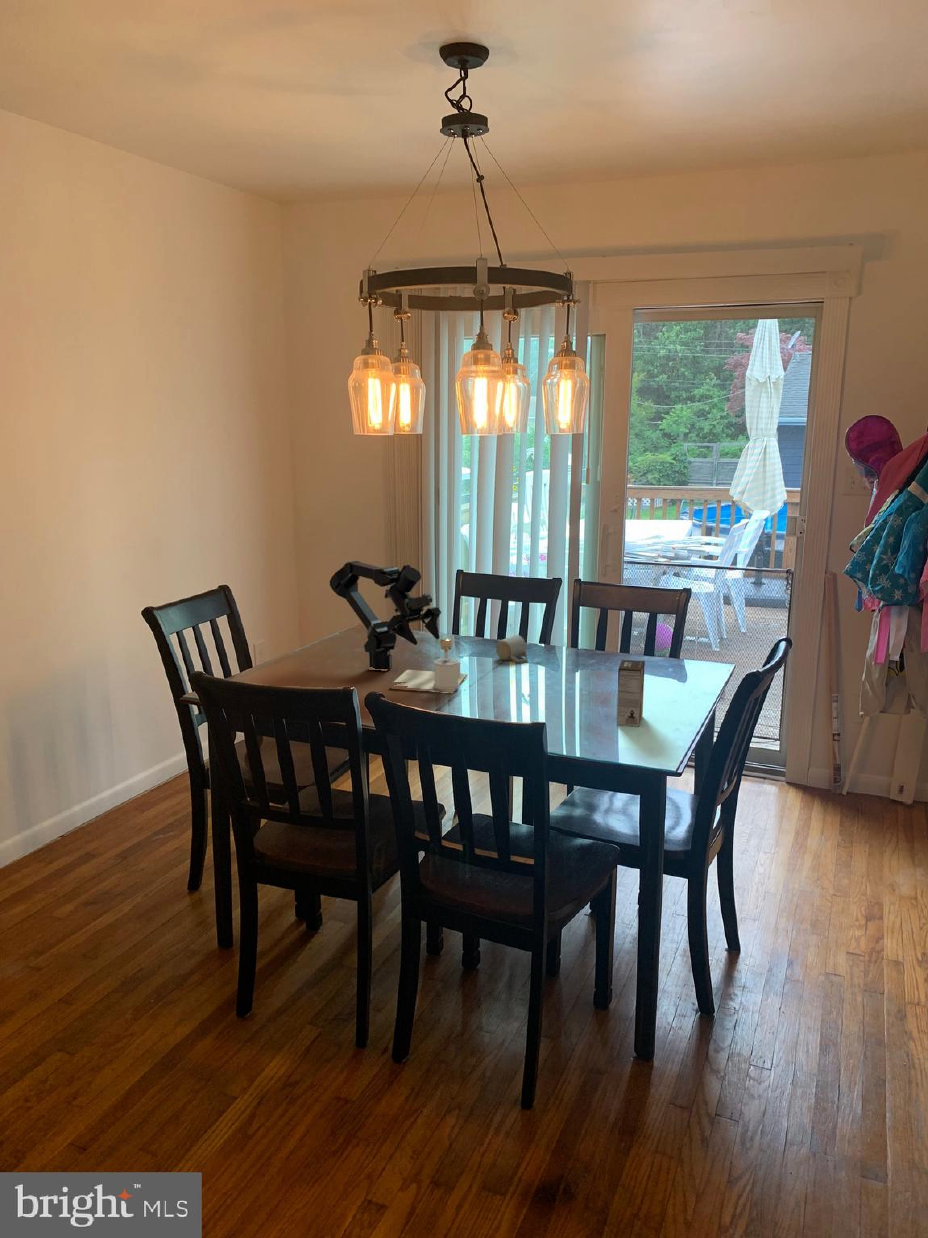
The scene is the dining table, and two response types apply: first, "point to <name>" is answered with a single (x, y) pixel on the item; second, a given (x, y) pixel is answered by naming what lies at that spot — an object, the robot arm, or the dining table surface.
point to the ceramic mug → (512, 649)
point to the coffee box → (630, 693)
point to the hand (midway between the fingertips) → (427, 641)
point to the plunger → (445, 647)
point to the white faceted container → (446, 674)
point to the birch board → (422, 680)
